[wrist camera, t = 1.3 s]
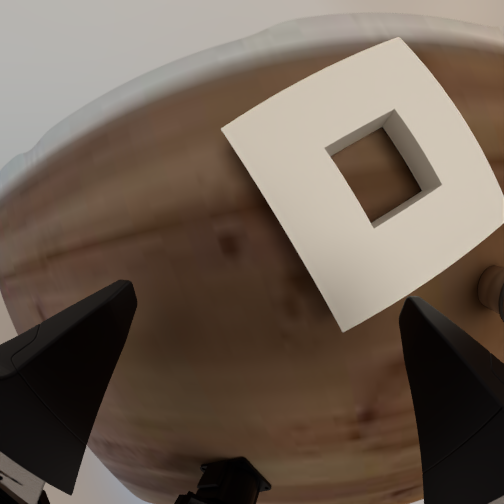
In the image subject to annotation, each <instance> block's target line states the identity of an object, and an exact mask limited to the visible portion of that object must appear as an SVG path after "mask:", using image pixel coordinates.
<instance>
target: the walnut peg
mask: <svg viewBox="0 0 504 504" xmlns="http://www.w3.org/2000/svg"><path fill="white" fill-rule="evenodd" d="M478 298H479V300H480V302H481V303H482V304H483V305H484V306H486V307H487V308H489V309H491V310H493V311H495V312H497V313H498V314H500V317H501V319H502V320H503V322H504V268H503V267H499V266H491V267H489V268H487V269H486V270H485V271H484V272H483V274H482V276H481V278H480V280H479V284H478Z"/></svg>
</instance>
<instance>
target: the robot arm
mask: <svg viewBox="0 0 504 504" xmlns="http://www.w3.org/2000/svg"><path fill="white" fill-rule="evenodd" d="M136 308H137V298H136V295H135V291H134V287H133V284H132V282H131V281H129V280H118V281H116V282H114V283H113V284H111V285H109V286H107V287H105V288H103V289H101V290H99V291H98V292H96V293H94V294H92V295H90V296H88V297H87V298H85V299H83V300H81V301H79V302H77V303H76V304H74V305H72V306H70V307H68V308H67V309H65V310H63V311H61V312H59V313H58V314H56V315H54V316H52V317H50V318H49V319H47V320H45V321H43V322H42V323H41V324H38V325H36V326H35V327H33V328H31V329H29V330H28V331H26V332H24V333H22V334H20V335H18V336H17V337H15V338H13V339H11V340H9V341H7V342H5V343H3V344H1V345H0V504H50V502H49V500H48V497H47V495H46V492H45V491H44V490H43V487H44V484H45V482H47V483H48V484H50V485H52V486H54V487H56V488H57V489H59V490H61V491H63V492H65V493H67V494H69V495H72V493H73V490H74V486H75V482H76V478H77V475H78V471H79V468H80V465H81V462H82V458H83V455H84V452H85V449H86V445H87V442H88V439H89V436H90V433H91V430H92V427H93V424H94V421H95V419H96V416H97V413H98V410H99V407H100V405H101V402H102V399H103V397H104V394H105V391H106V389H107V386H108V384H109V381H110V379H111V376H112V374H113V371H114V369H115V366H116V364H117V361H118V359H119V357H120V354H121V352H122V349H123V347H124V344H125V342H126V339H127V336H128V333H129V329H130V326H131V323H132V320H133V317H134V314H135V311H136ZM399 326H400V333H401V339H402V347H403V354H404V361H405V366H406V370H407V375H408V380H409V384H410V389H411V394H412V399H413V405H414V410H415V416H416V423H417V429H418V436H419V444H420V452H421V462H422V472H423V490H424V504H504V364H503V363H502V362H501V361H500V360H499V359H497V358H496V357H495V356H494V355H493V354H492V353H490V352H489V351H488V350H487V349H486V348H484V347H483V346H482V345H481V344H480V343H478V342H477V341H476V340H475V339H473V338H472V337H471V336H470V335H468V334H467V333H466V332H465V331H463V330H462V329H461V328H460V327H458V326H457V325H456V324H455V323H453V322H452V321H451V320H449V319H448V318H447V317H446V316H444V315H443V314H442V313H440V312H439V311H438V310H436V309H435V308H434V307H432V306H431V305H430V304H428V303H427V302H426V301H424V300H423V299H422V298H420V297H418V296H409V297H407V298H406V300H405V302H404V305H403V308H402V310H401V313H400V316H399ZM242 461H243V462H242ZM200 469H201V471H202V472H203V473H204V474H203V476H202V477H201V479H200V481H199V483H198V485H197V488H198V491H197V493H196V494H193V492H190V491H189V492H188V493H187V495H179V496H178V498H177V500H176V501H175V503H174V504H256V502H257V498H258V495H259V492H261V491H267V490H270V489H271V485H270V484H269V483H268V482H267V481H266V480H265V479H264V478H263V477H262V476H261V475H260V474H259V472H258V471H257V470H256V469H255V468H254V467H253V466H252V465H251V464H250V463H249V462H248V461H247V460H246V459H245V458H237V459H232V460H227V461H221V462H216V463H210V464H203V465H201V467H200Z"/></svg>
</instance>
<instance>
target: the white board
mask: <svg viewBox="0 0 504 504" xmlns="http://www.w3.org/2000/svg"><path fill="white" fill-rule="evenodd" d="M381 127H383V128H384V130H385V131H386V133H387V134H388V136H389V137H390V139H391V140H392V142H393V143H394V145H395V146H396V148H397V149H398V151H399V152H400V154H401V156H402V157H403V159H404V161H405V162H406V164H407V165H408V167H409V169H410V171H411V172H412V174H413V176H414V177H415V179H416V181H417V183H418V184H419V186H420V188H421V190H422V191H421V192H420V193H418V194H416V195H415V196H413V197H412V198H410V199H409V200H407V201H405V202H404V203H402V204H401V205H399V206H398V207H396V208H394V209H393V210H391V211H390V212H388V213H386V214H385V215H383V216H382V217H380V218H378V219H377V220H375V221H373V222H372V223H370V221H369V219H368V217H367V216H366V214H365V212H364V210H363V209H362V207H361V205H360V203H359V202H358V200H357V198H356V197H355V195H354V193H353V192H352V190H351V188H350V187H349V185H348V184H347V182H346V180H345V179H344V177H343V176H342V174H341V172H340V171H339V169H338V168H337V166H336V165H335V163H334V162H333V160H332V159H331V157H330V156H332V155H334V154H335V153H337V152H339V151H341V150H342V149H344V148H346V147H348V146H349V145H351V144H353V143H355V142H356V141H358V140H360V139H362V138H363V137H365V136H367V135H369V134H370V133H372V132H374V131H376V130H378V129H379V128H381ZM221 130H222V132H223V133H224V135H225V136H226V138H227V139H228V141H229V142H230V144H231V145H232V147H233V148H234V150H235V151H236V153H237V155H238V156H239V158H240V159H241V161H242V162H243V164H244V166H245V167H246V169H247V170H248V172H249V173H250V175H251V177H252V178H253V180H254V181H255V183H256V185H257V186H258V188H259V189H260V191H261V193H262V194H263V196H264V197H265V199H266V201H267V202H268V204H269V206H270V207H271V209H272V210H273V212H274V214H275V215H276V217H277V219H278V220H279V222H280V224H281V225H282V227H283V229H284V230H285V232H286V234H287V235H288V237H289V239H290V240H291V242H292V244H293V245H294V247H295V249H296V251H297V252H298V254H299V256H300V257H301V259H302V261H303V263H304V264H305V266H306V268H307V269H308V271H309V273H310V275H311V276H312V278H313V280H314V282H315V283H316V285H317V287H318V289H319V290H320V292H321V294H322V296H323V298H324V299H325V301H326V303H327V305H328V307H329V308H330V310H331V312H332V314H333V316H334V317H335V319H336V321H337V323H338V325H339V327H340V328H341V330H342V332H345V331H347V330H349V329H350V328H352V327H354V326H356V325H358V324H359V323H361V322H363V321H365V320H366V319H368V318H370V317H372V316H373V315H375V314H377V313H379V312H380V311H382V310H384V309H385V308H387V307H389V306H390V305H392V304H394V303H395V302H397V301H398V300H400V299H402V298H403V297H405V296H406V295H408V294H409V293H411V292H412V291H414V290H416V289H417V288H419V287H420V286H422V285H423V284H425V283H426V282H428V281H429V280H430V279H432V278H433V277H435V276H436V275H438V274H439V273H441V272H442V271H443V270H445V269H446V268H448V267H449V266H450V265H452V264H453V263H454V262H456V261H457V260H458V259H460V258H461V257H462V256H464V255H465V254H466V253H468V252H469V251H470V250H472V249H473V248H474V247H475V246H477V245H478V244H479V243H480V242H482V241H483V240H484V239H485V238H487V237H488V236H489V235H490V234H491V233H493V232H494V231H495V230H496V229H497V228H499V227H500V226H501V225H502V224H503V223H504V196H503V194H502V191H501V189H500V187H499V184H498V182H497V180H496V178H495V175H494V173H493V171H492V169H491V167H490V165H489V163H488V161H487V159H486V157H485V155H484V153H483V151H482V149H481V148H480V146H479V144H478V142H477V140H476V139H475V137H474V135H473V133H472V132H471V130H470V128H469V127H468V125H467V123H466V122H465V120H464V119H463V117H462V116H461V114H460V112H459V111H458V109H457V108H456V106H455V105H454V103H453V102H452V101H451V99H450V98H449V96H448V95H447V94H446V92H445V91H444V89H443V88H442V87H441V85H440V84H439V83H438V81H437V80H436V79H435V78H434V76H433V75H432V74H431V72H430V71H429V70H428V69H427V68H426V66H425V65H424V64H423V63H422V62H421V60H420V59H419V58H418V57H417V56H416V55H415V54H414V52H413V51H412V50H411V49H410V48H409V47H408V46H407V45H406V44H405V43H404V42H403V41H402V39H401V38H400V37H397V38H394V39H392V40H389V41H386V42H384V43H381V44H379V45H376V46H374V47H371V48H369V49H366V50H364V51H362V52H359V53H357V54H355V55H352V56H350V57H348V58H346V59H344V60H341V61H339V62H337V63H335V64H333V65H331V66H329V67H327V68H325V69H323V70H321V71H319V72H317V73H315V74H313V75H311V76H309V77H307V78H305V79H303V80H301V81H299V82H297V83H296V84H294V85H292V86H290V87H288V88H287V89H285V90H283V91H281V92H279V93H278V94H276V95H274V96H272V97H271V98H269V99H267V100H266V101H264V102H262V103H261V104H259V105H257V106H256V107H254V108H252V109H251V110H249V111H248V112H246V113H244V114H243V115H241V116H240V117H238V118H237V119H235V120H233V121H232V122H230V123H229V124H227V125H226V126H224V127H223V128H221Z"/></svg>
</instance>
